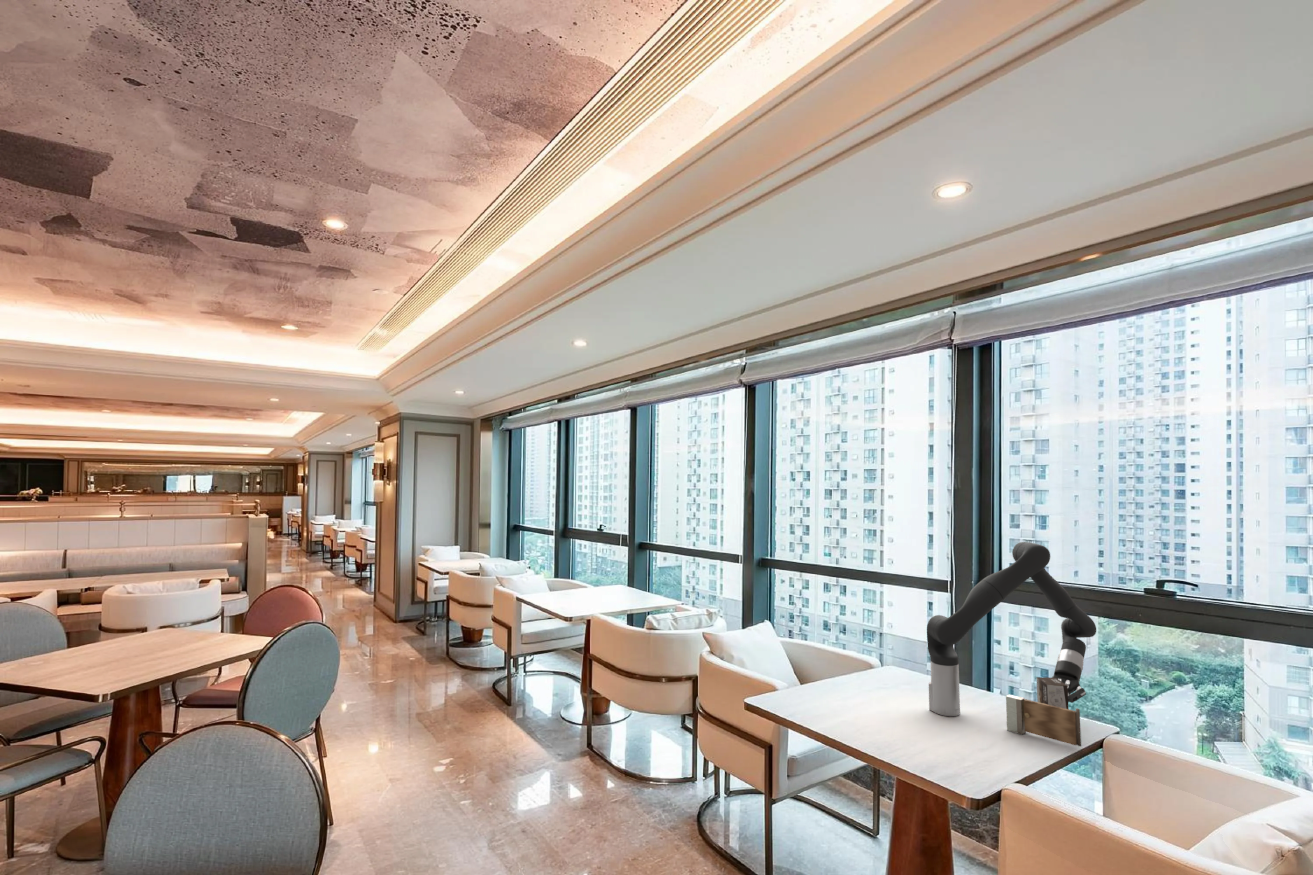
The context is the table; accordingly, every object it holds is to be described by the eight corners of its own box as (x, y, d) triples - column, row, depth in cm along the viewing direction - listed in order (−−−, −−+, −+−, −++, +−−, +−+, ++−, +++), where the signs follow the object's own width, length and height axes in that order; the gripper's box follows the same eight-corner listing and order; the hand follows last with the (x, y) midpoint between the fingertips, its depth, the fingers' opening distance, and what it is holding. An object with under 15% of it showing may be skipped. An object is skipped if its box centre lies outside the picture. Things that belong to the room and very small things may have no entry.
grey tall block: (1006, 730, 208) (1005, 696, 209) (1010, 728, 210) (1009, 694, 211) (1022, 734, 205) (1021, 699, 205) (1025, 732, 207) (1024, 697, 207)
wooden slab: (1023, 732, 204) (1022, 697, 205) (1026, 730, 206) (1025, 695, 206) (1079, 747, 192) (1077, 710, 193) (1081, 745, 194) (1080, 708, 195)
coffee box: (1070, 737, 203) (1068, 685, 204) (1048, 735, 204) (1046, 684, 205) (1058, 726, 212) (1056, 677, 213) (1037, 724, 213) (1035, 675, 214)
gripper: (1045, 655, 224) (1033, 698, 216) (1088, 663, 215) (1078, 709, 206) (1050, 668, 228) (1039, 710, 219) (1094, 676, 218) (1084, 722, 209)
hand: (1058, 710), depth 212 cm, fingers closed
